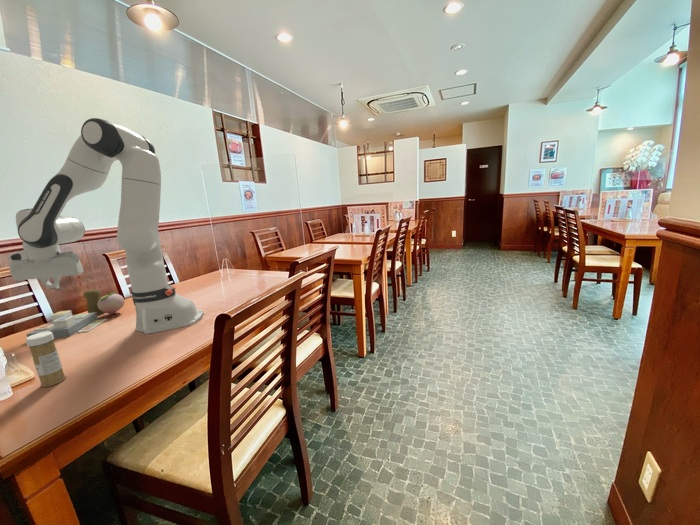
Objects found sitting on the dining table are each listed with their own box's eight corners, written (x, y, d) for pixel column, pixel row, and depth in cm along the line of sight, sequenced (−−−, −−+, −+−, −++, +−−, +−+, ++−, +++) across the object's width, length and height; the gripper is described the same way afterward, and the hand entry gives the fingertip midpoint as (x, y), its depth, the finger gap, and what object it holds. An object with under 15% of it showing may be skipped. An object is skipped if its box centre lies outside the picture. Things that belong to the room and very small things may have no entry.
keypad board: (98, 318, 114) (96, 312, 113) (70, 336, 99) (67, 328, 98) (63, 323, 111) (61, 316, 111) (29, 342, 96) (26, 334, 95)
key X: (76, 324, 104) (73, 315, 103) (68, 328, 100) (65, 319, 99) (63, 326, 103) (61, 316, 102) (55, 330, 99) (52, 321, 98)
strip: (106, 319, 113) (106, 318, 112) (88, 331, 102) (88, 330, 102) (96, 321, 112) (95, 319, 112) (77, 333, 101) (76, 331, 101)
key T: (59, 331, 103) (56, 322, 102) (51, 336, 99) (48, 327, 98) (46, 333, 102) (43, 324, 101) (37, 338, 98) (34, 329, 97)
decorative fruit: (121, 316, 115) (115, 293, 113) (97, 319, 113) (91, 296, 111) (130, 308, 124) (125, 287, 122) (109, 311, 122) (103, 290, 120)
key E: (91, 321, 112) (89, 312, 111) (85, 325, 108) (82, 316, 107) (80, 322, 111) (77, 314, 110) (73, 326, 107) (70, 317, 106)
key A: (73, 318, 110) (70, 309, 109) (66, 322, 106) (63, 313, 105) (61, 319, 109) (58, 311, 108) (53, 324, 105) (50, 314, 105)
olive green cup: (95, 317, 116) (88, 292, 114) (84, 316, 117) (77, 292, 115) (110, 311, 122) (104, 287, 120) (99, 311, 123) (93, 287, 121)
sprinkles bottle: (40, 383, 72) (24, 336, 69) (65, 374, 75) (51, 329, 72) (41, 390, 69) (25, 341, 66) (67, 380, 72) (52, 333, 69)
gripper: (82, 249, 107) (91, 283, 110) (17, 253, 103) (28, 289, 106) (70, 251, 101) (80, 287, 104) (1, 256, 97) (13, 294, 100)
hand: (53, 288), depth 105 cm, fingers closed
